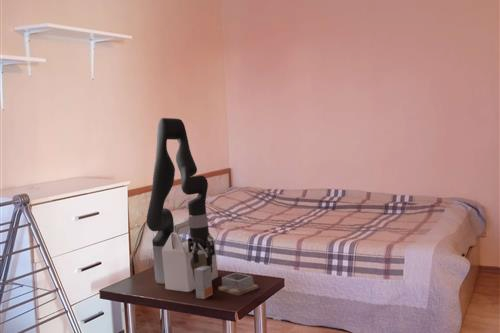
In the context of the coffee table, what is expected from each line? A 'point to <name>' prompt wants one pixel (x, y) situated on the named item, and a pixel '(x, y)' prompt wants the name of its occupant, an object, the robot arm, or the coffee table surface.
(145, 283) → the coffee table surface
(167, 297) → the coffee table surface
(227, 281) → the duct collar
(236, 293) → the birch board
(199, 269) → the skincare box
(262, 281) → the coffee table surface
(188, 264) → the gable box
